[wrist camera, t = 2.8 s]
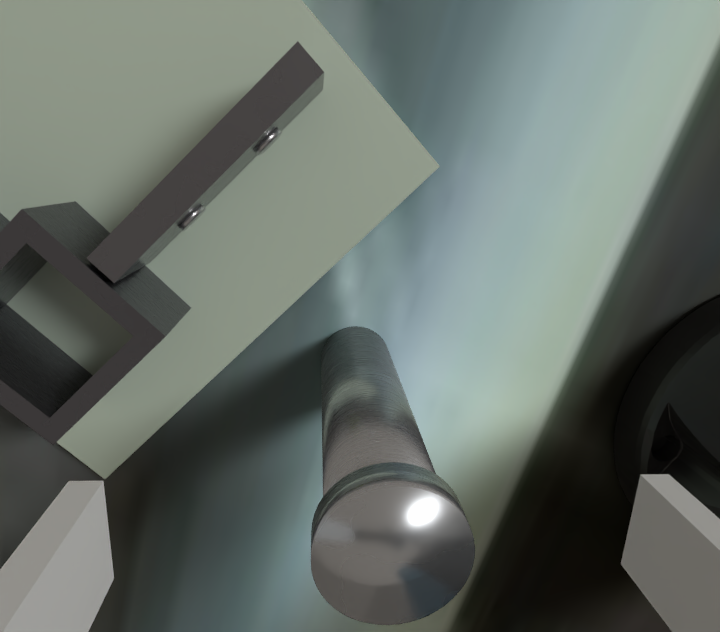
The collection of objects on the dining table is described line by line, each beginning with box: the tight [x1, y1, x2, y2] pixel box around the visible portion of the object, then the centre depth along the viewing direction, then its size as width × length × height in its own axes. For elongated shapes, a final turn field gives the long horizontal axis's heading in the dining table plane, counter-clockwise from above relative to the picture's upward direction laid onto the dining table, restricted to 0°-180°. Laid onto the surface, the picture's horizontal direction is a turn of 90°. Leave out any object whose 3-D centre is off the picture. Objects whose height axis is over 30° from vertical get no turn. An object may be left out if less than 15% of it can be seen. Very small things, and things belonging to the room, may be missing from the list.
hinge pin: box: [311, 326, 475, 625], centre depth 18 cm, size 4×4×13 cm
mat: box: [0, 0, 440, 479], centre depth 21 cm, size 16×21×1 cm
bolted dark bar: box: [87, 41, 324, 283], centre depth 19 cm, size 1×10×4 cm, turn 132°
